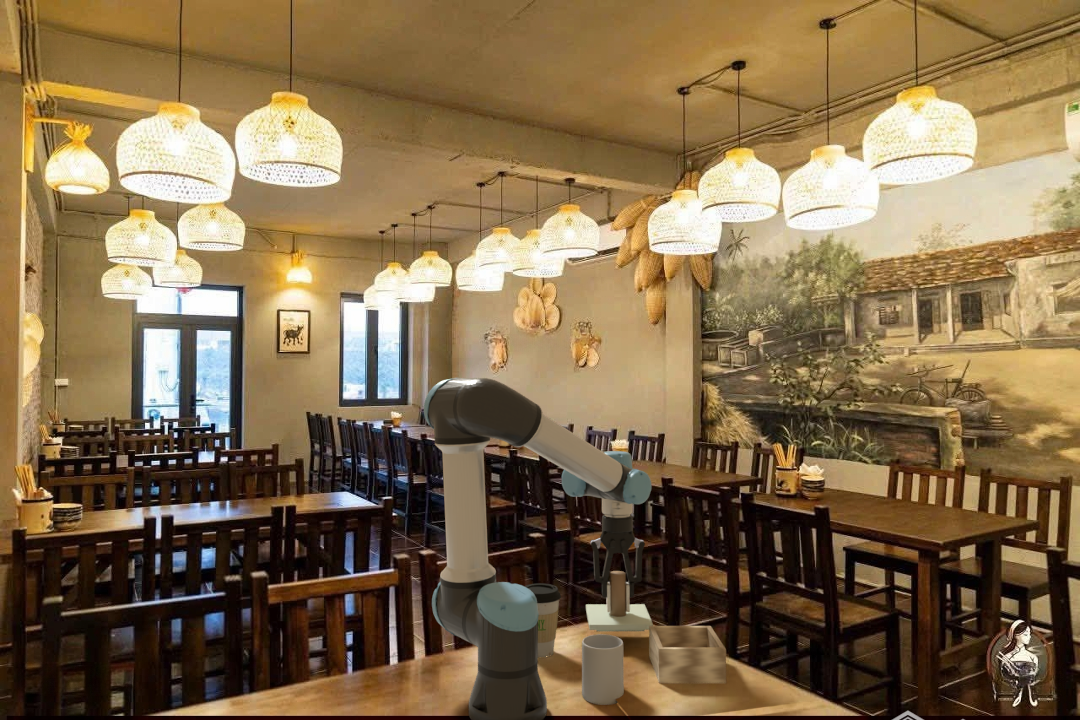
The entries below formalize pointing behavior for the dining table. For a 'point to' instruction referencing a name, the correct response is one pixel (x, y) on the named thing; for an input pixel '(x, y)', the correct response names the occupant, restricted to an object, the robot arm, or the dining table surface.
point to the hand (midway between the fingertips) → (618, 610)
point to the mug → (602, 669)
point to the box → (687, 654)
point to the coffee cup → (546, 616)
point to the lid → (618, 610)
